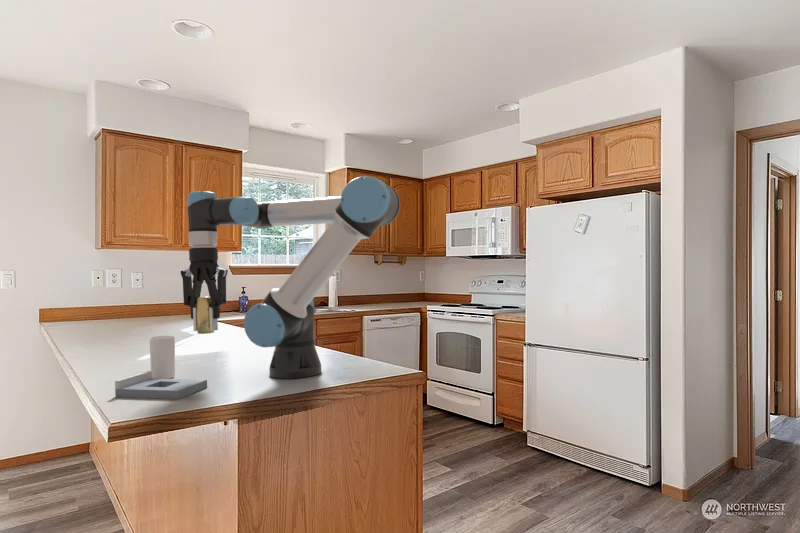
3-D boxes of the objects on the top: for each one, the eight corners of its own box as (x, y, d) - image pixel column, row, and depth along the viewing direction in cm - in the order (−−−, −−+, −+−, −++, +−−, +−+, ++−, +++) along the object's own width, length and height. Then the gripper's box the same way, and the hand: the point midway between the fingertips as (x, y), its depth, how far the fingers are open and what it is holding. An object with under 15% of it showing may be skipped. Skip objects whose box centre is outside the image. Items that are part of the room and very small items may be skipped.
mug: (170, 379, 147) (169, 338, 147) (146, 380, 146) (145, 339, 146) (182, 372, 157) (181, 333, 157) (160, 373, 156) (159, 334, 156)
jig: (207, 387, 136) (206, 372, 136) (178, 399, 125) (178, 382, 125) (148, 385, 140) (148, 371, 140) (115, 396, 128) (115, 380, 128)
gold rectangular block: (217, 331, 145) (216, 296, 145) (208, 333, 140) (207, 297, 140) (203, 331, 146) (202, 296, 146) (194, 333, 141) (193, 297, 141)
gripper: (238, 246, 145) (240, 328, 145) (184, 248, 148) (186, 328, 149) (224, 245, 137) (226, 332, 138) (167, 248, 141) (169, 332, 141)
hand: (205, 330), depth 143 cm, fingers closed on gold rectangular block, 4 cm apart
